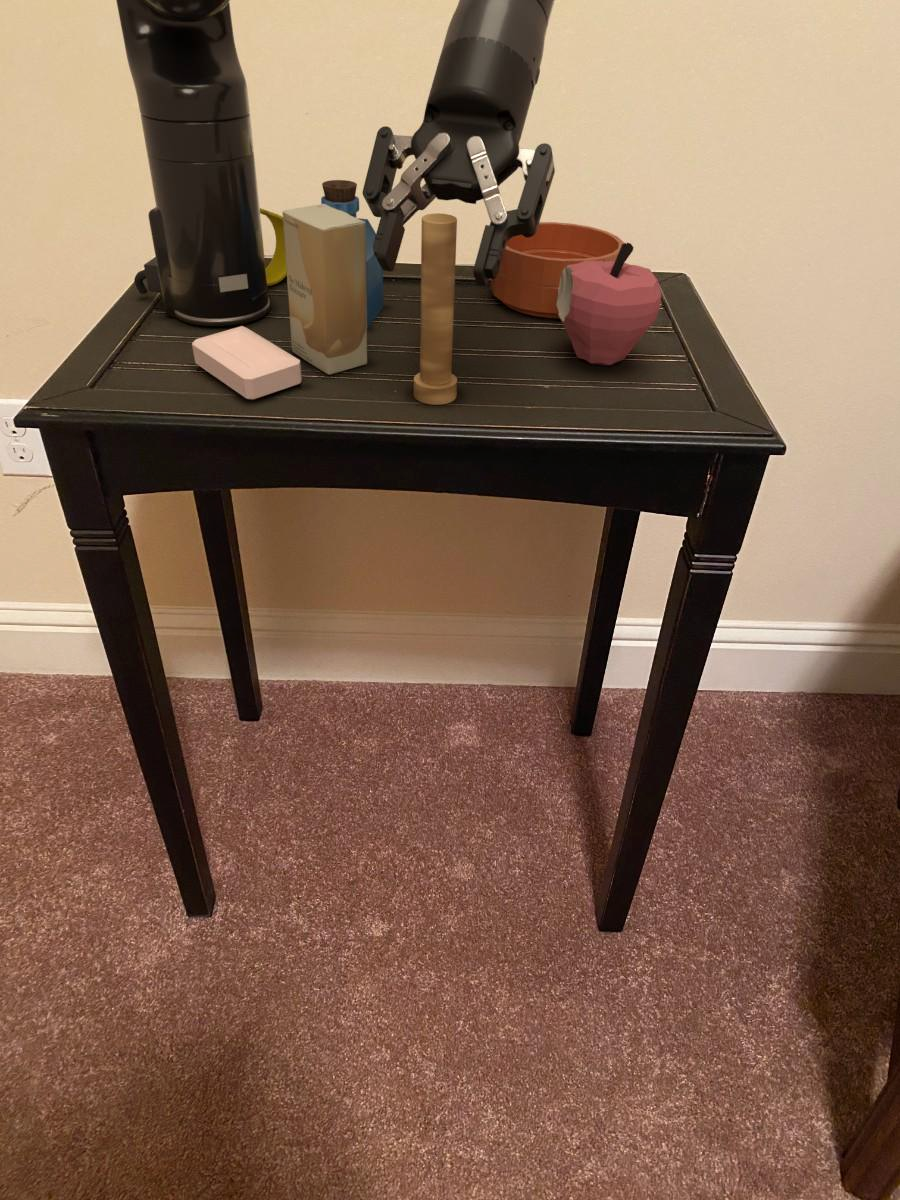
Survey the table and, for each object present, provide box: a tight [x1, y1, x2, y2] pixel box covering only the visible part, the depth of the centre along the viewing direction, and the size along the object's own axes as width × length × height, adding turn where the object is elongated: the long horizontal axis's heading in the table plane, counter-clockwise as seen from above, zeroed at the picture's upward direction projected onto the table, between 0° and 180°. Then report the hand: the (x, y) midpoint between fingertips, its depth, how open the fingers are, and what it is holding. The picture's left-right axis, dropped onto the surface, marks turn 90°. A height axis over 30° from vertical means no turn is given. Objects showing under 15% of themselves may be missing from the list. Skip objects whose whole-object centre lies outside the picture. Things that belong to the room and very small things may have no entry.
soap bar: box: [191, 325, 303, 401], centre depth 72 cm, size 5×9×2 cm, turn 42°
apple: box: [557, 242, 662, 367], centre depth 75 cm, size 10×9×10 cm
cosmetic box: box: [281, 203, 368, 376], centre depth 72 cm, size 6×4×12 cm
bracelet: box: [259, 207, 287, 287], centre depth 89 cm, size 7×8×3 cm
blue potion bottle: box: [320, 179, 384, 329], centre depth 81 cm, size 6×6×12 cm
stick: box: [413, 212, 458, 406], centre depth 67 cm, size 4×4×14 cm
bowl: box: [490, 221, 625, 319], centre depth 88 cm, size 13×13×6 cm
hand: (431, 272), depth 63 cm, fingers open, 7 cm apart
